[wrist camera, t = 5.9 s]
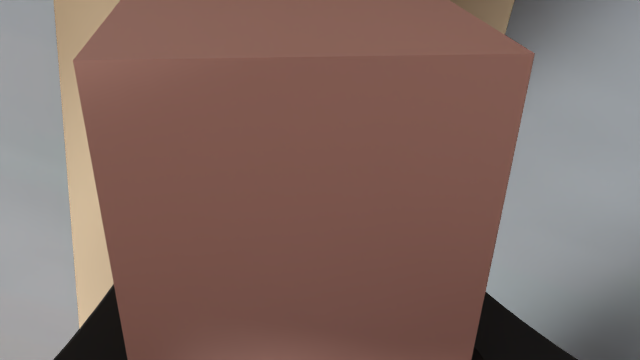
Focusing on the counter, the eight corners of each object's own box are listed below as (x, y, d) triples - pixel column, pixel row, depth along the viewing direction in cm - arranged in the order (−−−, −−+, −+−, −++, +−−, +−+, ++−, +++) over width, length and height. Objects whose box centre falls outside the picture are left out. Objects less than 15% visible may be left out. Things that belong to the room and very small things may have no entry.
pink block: (398, -33, 10) (539, 54, 5) (360, 418, 15) (414, 647, 10) (144, -35, 9) (66, 59, 5) (197, 434, 14) (184, 683, 10)
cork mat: (530, -73, 11) (534, -72, 11) (401, 391, 17) (402, 396, 17) (45, -143, 10) (42, -143, 10) (87, 396, 16) (85, 401, 16)
